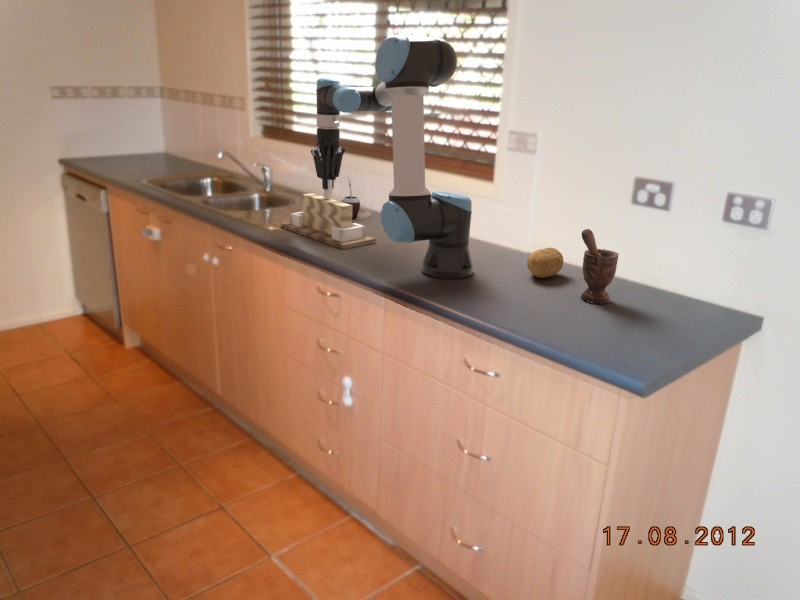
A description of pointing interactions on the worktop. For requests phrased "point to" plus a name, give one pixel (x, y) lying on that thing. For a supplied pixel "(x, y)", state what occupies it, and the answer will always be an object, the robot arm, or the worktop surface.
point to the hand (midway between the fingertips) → (328, 198)
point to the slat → (325, 213)
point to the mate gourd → (352, 202)
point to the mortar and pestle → (597, 269)
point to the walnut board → (328, 237)
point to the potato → (545, 262)
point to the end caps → (334, 229)
